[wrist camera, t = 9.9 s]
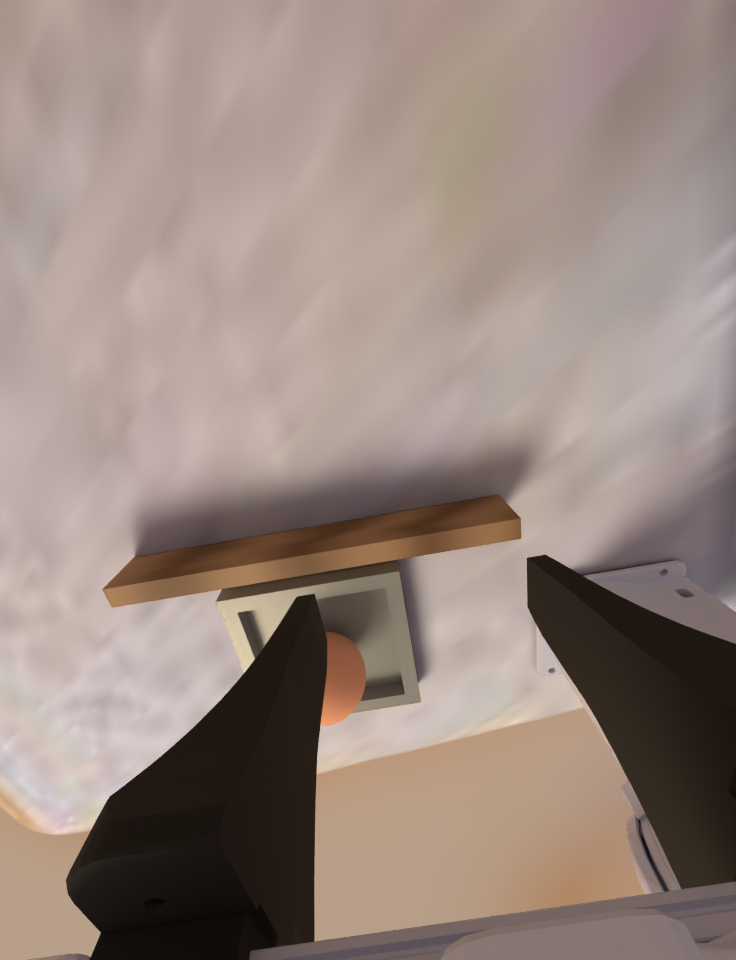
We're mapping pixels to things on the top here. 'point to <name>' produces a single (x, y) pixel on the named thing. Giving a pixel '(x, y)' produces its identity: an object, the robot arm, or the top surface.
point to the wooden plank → (314, 550)
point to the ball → (342, 679)
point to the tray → (336, 623)
